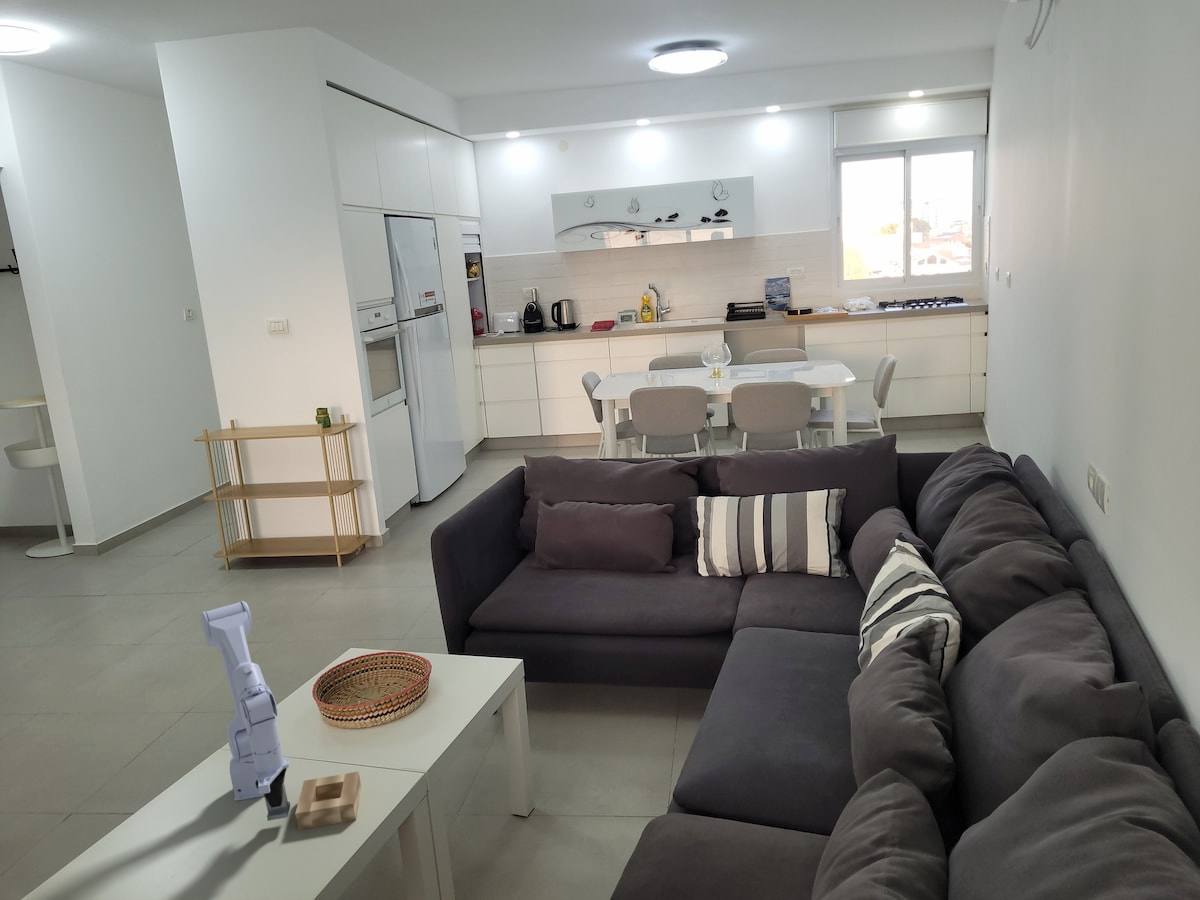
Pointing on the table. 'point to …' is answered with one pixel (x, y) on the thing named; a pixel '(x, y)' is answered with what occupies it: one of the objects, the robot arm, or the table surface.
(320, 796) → the well block
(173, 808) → the table surface
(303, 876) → the table surface
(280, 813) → the grey block
